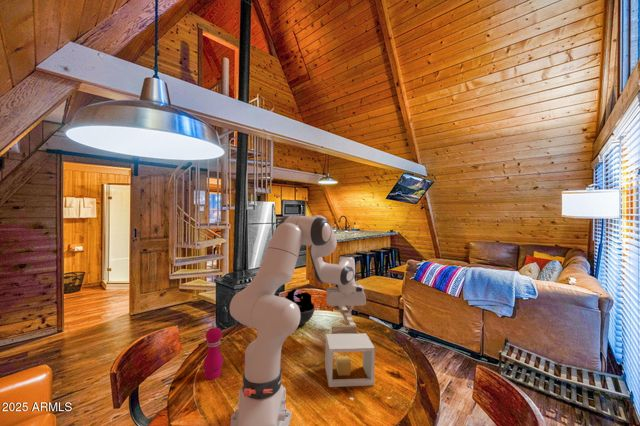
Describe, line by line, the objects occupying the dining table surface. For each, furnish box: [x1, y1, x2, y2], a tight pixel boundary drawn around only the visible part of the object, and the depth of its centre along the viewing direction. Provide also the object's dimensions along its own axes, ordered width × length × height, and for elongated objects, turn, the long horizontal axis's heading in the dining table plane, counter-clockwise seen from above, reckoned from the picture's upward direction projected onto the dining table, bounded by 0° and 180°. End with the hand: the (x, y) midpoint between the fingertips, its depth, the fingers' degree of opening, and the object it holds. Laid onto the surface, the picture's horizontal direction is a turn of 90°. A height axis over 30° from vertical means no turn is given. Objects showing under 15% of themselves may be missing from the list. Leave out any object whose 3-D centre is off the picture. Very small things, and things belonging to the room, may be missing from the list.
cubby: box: [324, 333, 376, 388], centre depth 107 cm, size 12×17×14 cm
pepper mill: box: [203, 324, 224, 380], centre depth 106 cm, size 7×7×20 cm
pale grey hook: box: [331, 306, 357, 334], centre depth 136 cm, size 35×12×3 cm, turn 5°
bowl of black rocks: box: [284, 288, 315, 326], centre depth 157 cm, size 20×20×19 cm
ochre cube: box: [335, 355, 352, 377], centre depth 110 cm, size 5×5×5 cm
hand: (345, 313), depth 138 cm, fingers closed on pale grey hook, 2 cm apart
